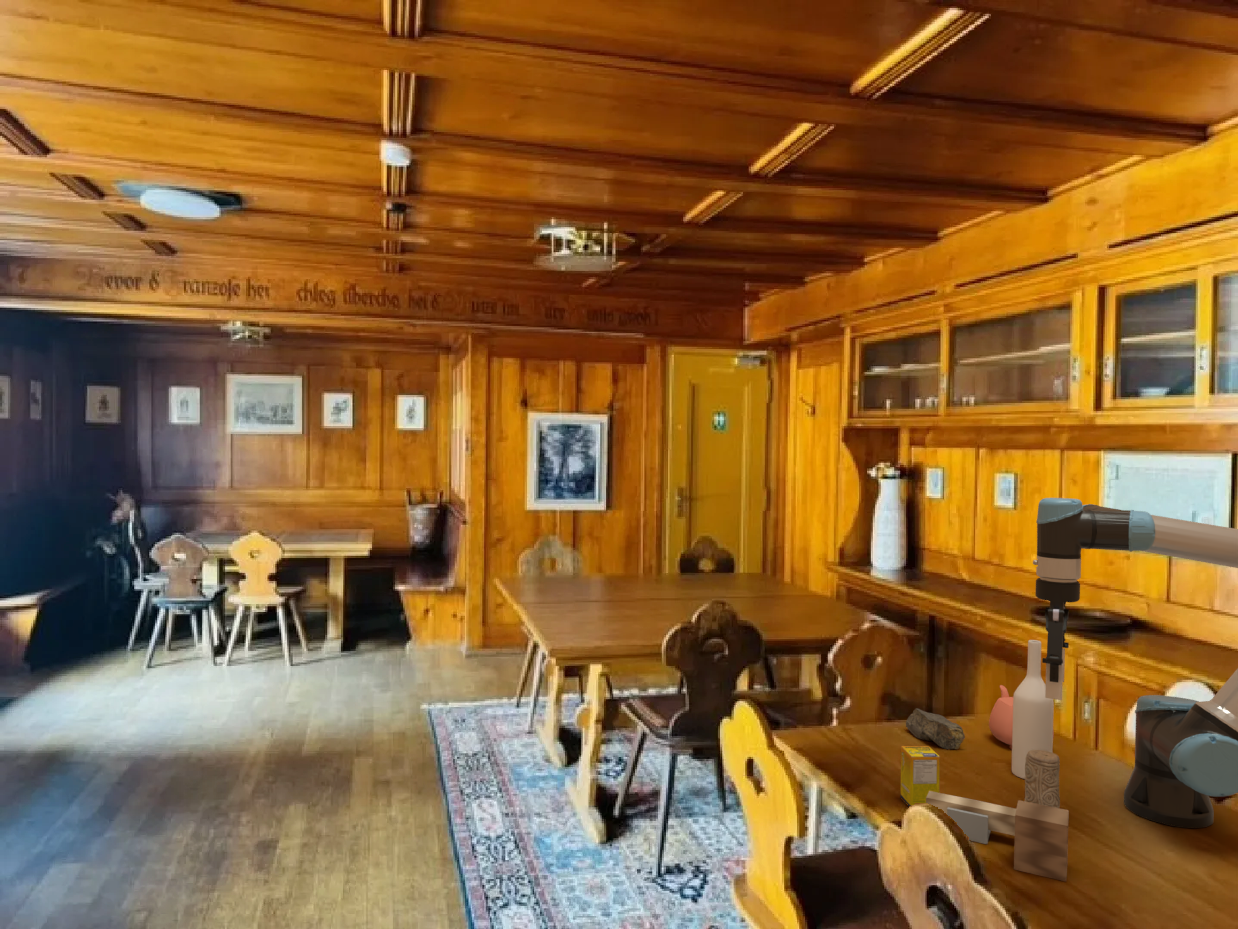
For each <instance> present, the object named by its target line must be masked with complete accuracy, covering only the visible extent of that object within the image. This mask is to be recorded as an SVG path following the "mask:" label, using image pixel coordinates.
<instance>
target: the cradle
mask: <svg viewBox="0 0 1238 929" xmlns="http://www.w3.org/2000/svg"><path fill="white" fill-rule="evenodd" d="M957 797H959V796H957ZM962 798H964V797H962ZM966 798H967V797H966ZM967 799H969V798H967ZM970 799H971V798H970ZM971 800H974V799H971ZM975 800H976V799H975ZM976 801H978V800H976ZM980 801H981V802H983V801H982V800H980ZM985 802H986V801H985ZM986 803H988V802H986ZM990 803H991V804H993V803H992V802H990ZM947 815H948V816H950V817H951V818H952V819H953V820H954V821H955V822H957V825H958V826H959V827H960V828H961V829H962V830H963V832H964V834H966V835H967V836H968V837H969V840H968V841H970V840H971V842H975V843H978V844H979V843H980V844H984V845H988V844H989V840H990V835H991V830H988V816H987V815H982V814H977V813H973V812H968V811H963V810H958V809H954V808H949V807H948V808H947Z"/></svg>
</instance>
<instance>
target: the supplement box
mask: <svg viewBox="0 0 1238 929" xmlns="http://www.w3.org/2000/svg"><path fill="white" fill-rule="evenodd" d="M900 747H901V749H900V752H901V753H900V799H901V798H902V799H903V800H904V801H905V802H906V803H907V804H908V806H911V805H914V804H915V803H926V797H927V795H928V793H929V791H933V792H937V793H940V767H941V766H940V763H941V761H940V759H941V756H940V755H939V754H938V753H937V752H935V750H933V748H932V747H930V746H929V745H921V746H919V745H917V746H915V745H907V746H905V745H901V746H900ZM902 799H901V800H902ZM903 800H902V801H903ZM904 801H903V802H904ZM905 802H904V803H905ZM906 803H905V804H906ZM908 806H907V807H908Z"/></svg>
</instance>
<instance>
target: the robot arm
mask: <svg viewBox="0 0 1238 929" xmlns="http://www.w3.org/2000/svg"><path fill="white" fill-rule="evenodd" d="M1037 507H1038V508H1037V517H1036V559H1033V561H1032V564H1033V565H1034V566H1036V567H1035V568H1036V572H1035V573H1036V576H1037V577H1038V578H1036V580H1035V592H1034V593H1035V597H1036V598H1037V599H1040V600H1043V601H1047V602H1048V601H1049V607H1048V606H1046V607H1045V610H1044V619H1045V630H1046V632H1047V640H1046V641H1047V643H1046V647H1047V648H1046V657H1041V664H1045V685H1046V691H1045V698H1050V699H1053V700H1058V701H1059V700H1060V701H1062V700H1063V683H1064V682H1065V664H1066V663H1065V662H1066V660H1065V658H1066V649H1069V648H1070V647H1069V646H1070V645H1069V642H1066V638H1065V636H1066V635H1065V634H1066V633H1067V627H1068V621H1069V616H1070V615H1069V614H1070V609H1069V608H1066V604H1067V603H1076V602H1079V601H1080V600H1081V583H1080V581H1078V580H1080V579H1081V578H1082V577H1081V576H1082V574H1081V573H1082V549H1083V550H1106V551H1107V550H1109V551H1126V552H1127V551H1128V552H1134V551H1135V552H1136V551H1138V552H1139V551H1140V552H1145V553H1150V554H1151V553H1152V554H1158V555H1162V556H1168V557H1174V558H1179V559H1184V560H1191V561H1196V562H1202V563H1207V564H1212V565H1219V566H1225V567H1228V568H1229V567H1230V568H1235V569H1238V528H1233V527H1227V526H1222V525H1216V524H1209V523H1202V522H1199V521H1198V522H1195V521H1193V520H1191V521H1189V520H1184V519H1178V518H1173V517H1167V516H1161V515H1156V514H1155V515H1154V514H1151V513H1149V512H1148V511H1143V510H1142V511H1141V510H1134V509H1129V510H1127V509H1126V510H1124V509H1119V508H1113V507H1106V506H1101V505H1097V504H1091V503H1089V504H1083V502H1082V500H1081V499H1078V498H1067V497H1066V498H1064V497H1045V498H1042V499H1041V500H1039V502H1038V505H1037ZM1134 713H1135V735H1134V737H1135V742H1134V767H1133V770H1132V773H1131V774H1130V778H1128V781H1127V784H1126V786H1125V789H1124V792H1123V805H1124V806H1125V808H1126V809H1128V810H1129V811H1130V812H1132V813H1133V814H1135V815H1136V816H1140V817H1141V818H1144V819H1146V820H1149V821H1152V822H1154V823H1158V824H1161V825H1162V824H1163V825H1166V826H1171V827H1179V828H1184V829H1185V828H1186V829H1202V828H1207V827H1209V826H1211V825H1213V824H1214V818H1215V817H1214V807H1213V803H1212V801H1211V798H1210V797H1214V798H1215V797H1217V798H1218V797H1230V796H1233V795H1236V794H1238V668H1236V669H1235V670H1234V672H1233V673H1232V674H1231V675H1230V677H1229V678H1228V679H1227V680H1226V682H1225V683H1224V684H1223V685H1222V686H1221V687H1220V689H1219V690H1218V691H1217V692H1216V694H1215V695H1214V696H1213V697H1212V698H1211V699H1210V700H1207V701H1206V700H1205V701H1204V700H1203V701H1199V700H1196V699H1190V698H1183V697H1179V696H1178V697H1177V696H1170V695H1159V694H1154V695H1152V694H1149V695H1142V696H1140V697H1138V698H1137V701H1136V706H1135V711H1134Z"/></svg>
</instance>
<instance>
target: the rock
mask: <svg viewBox="0 0 1238 929" xmlns="http://www.w3.org/2000/svg"><path fill="white" fill-rule="evenodd" d="M905 728H907V730H908V731H910V733H911V734H912V735H913V736H914V737H916V739H919V740H923V741H927V742H932V741H933V742H934V743H935V744H936V745H937V746H938V747H940V748H942V749H944V750H958V749H959V748H960V746H961V744H962V743H963V741H964V740H965V737H966V736H965V735H966V734H965V733H964V730H963V728H962V726H960V725H959V724H957V723H956V722H952V720H951V721H950V720H949V719H947V718H946V717H945V716H943V715H941V714H938V713H933V712H928V711H925V710H923V709H920V708H914V710H913V711H912V713H910V715H909V716H908V717H907V719H906V721H905Z"/></svg>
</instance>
